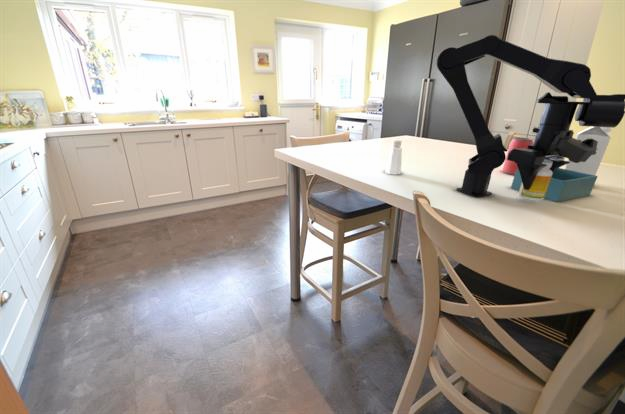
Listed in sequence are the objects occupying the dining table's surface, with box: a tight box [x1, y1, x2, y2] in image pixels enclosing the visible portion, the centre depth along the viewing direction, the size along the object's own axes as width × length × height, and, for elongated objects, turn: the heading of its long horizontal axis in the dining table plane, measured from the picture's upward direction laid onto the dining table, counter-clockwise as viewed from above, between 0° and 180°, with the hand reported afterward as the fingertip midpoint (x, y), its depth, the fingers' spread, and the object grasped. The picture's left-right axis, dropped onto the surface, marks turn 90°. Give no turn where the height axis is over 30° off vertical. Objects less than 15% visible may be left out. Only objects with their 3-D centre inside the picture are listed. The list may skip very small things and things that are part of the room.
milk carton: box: [564, 126, 613, 176], centre depth 85 cm, size 7×7×19 cm
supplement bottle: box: [518, 159, 553, 202], centre depth 71 cm, size 5×5×10 cm
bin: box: [510, 167, 598, 203], centre depth 80 cm, size 15×12×6 cm
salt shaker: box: [384, 139, 403, 176], centre depth 95 cm, size 5×5×11 cm
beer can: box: [502, 136, 534, 176], centre depth 97 cm, size 7×7×12 cm
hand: (533, 188), depth 72 cm, fingers closed on supplement bottle, 5 cm apart
